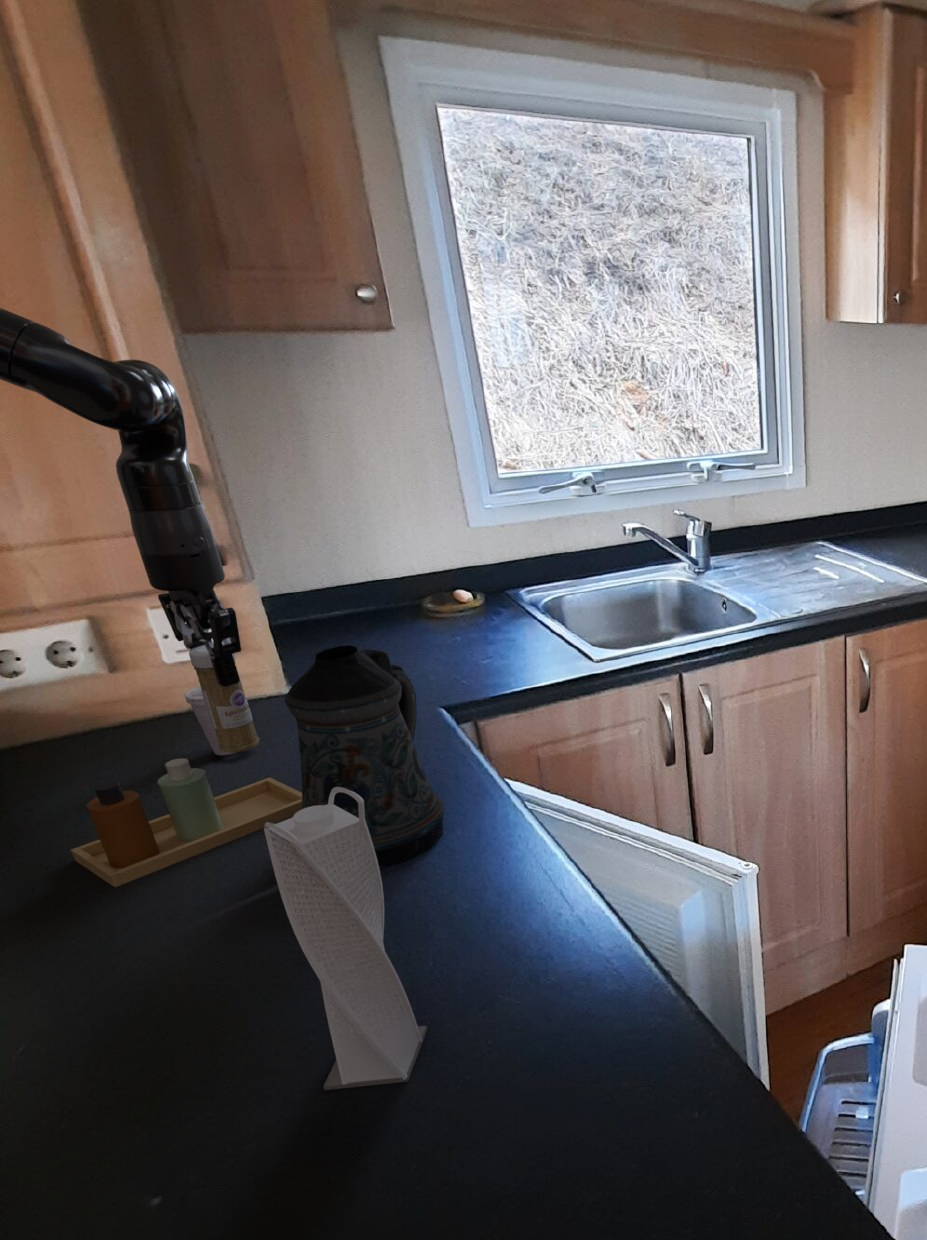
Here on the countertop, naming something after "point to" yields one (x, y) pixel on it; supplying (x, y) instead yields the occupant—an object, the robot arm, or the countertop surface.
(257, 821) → the tray
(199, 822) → the sage bottle
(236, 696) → the sprinkles bottle
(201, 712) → the smoothie
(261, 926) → the countertop surface
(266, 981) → the countertop surface
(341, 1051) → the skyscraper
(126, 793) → the amber bottle
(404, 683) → the beer stein
